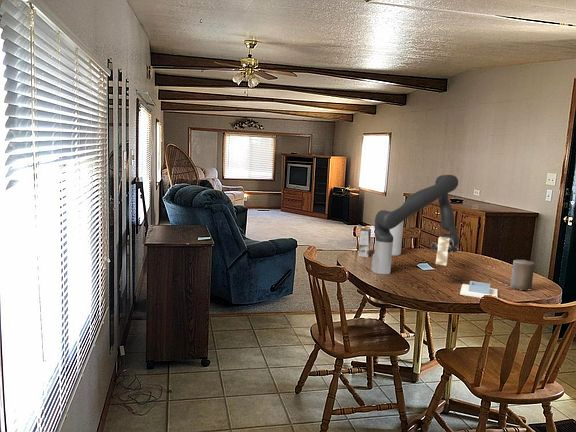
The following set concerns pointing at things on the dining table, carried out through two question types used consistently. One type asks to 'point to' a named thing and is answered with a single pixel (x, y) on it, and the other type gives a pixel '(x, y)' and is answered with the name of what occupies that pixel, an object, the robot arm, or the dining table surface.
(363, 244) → the coffee box
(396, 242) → the cylinder vase
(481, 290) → the sleeve holder
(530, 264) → the pillar candle
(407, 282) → the dining table surface
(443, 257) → the birch post
